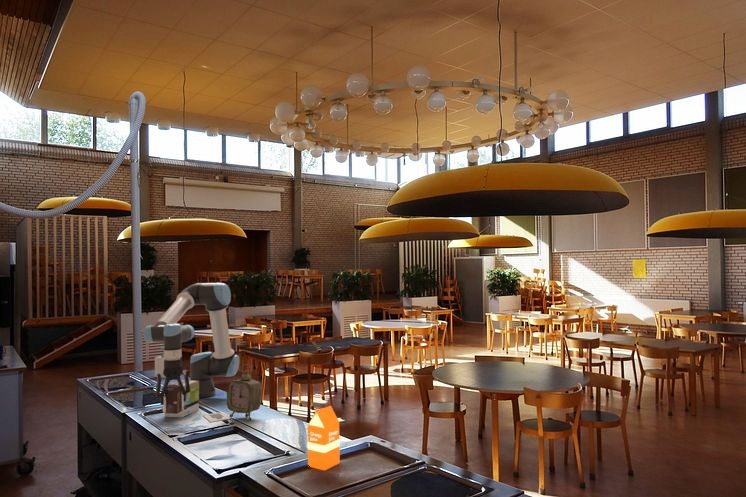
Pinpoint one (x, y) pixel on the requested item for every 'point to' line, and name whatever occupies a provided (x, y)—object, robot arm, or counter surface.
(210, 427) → the counter surface
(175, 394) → the box
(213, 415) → the card
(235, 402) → the tabletop clock
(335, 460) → the orange juice
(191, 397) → the tea box
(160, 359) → the soap bottle
